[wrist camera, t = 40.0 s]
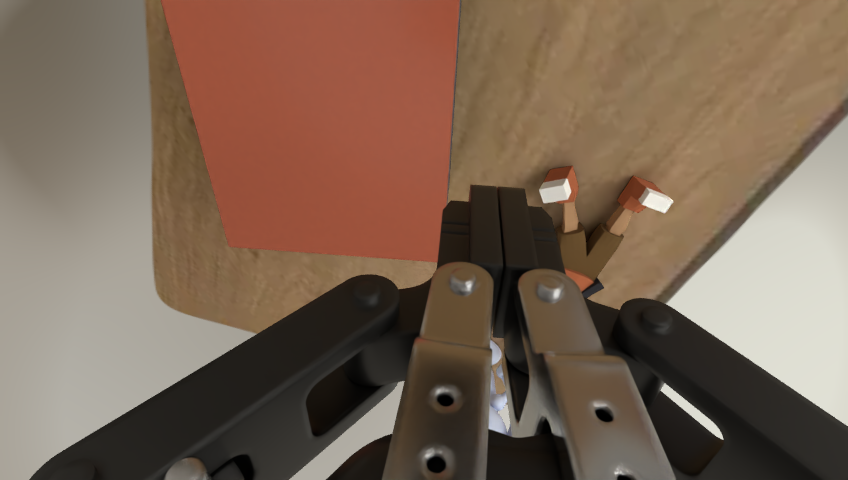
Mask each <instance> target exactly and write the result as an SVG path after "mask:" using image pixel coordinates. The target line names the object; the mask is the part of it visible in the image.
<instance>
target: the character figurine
mask: <svg viewBox="0 0 848 480" xmlns="http://www.w3.org/2000/svg"><path fill="white" fill-rule="evenodd" d="M578 188H579V186H578V183H577V179H576V176H575V172H574V169H573V166H568V167H562V168H556V169H551V170H550V171H549V173H548V175H547V177H546V178H545V180H544V182H543V184H542V185H541V187H540V189H539V191H540V194H541V197H542V200H543V203H550V202H557V203H558V204H561V203H563V207H562V214H563V224H562V225H561V226H559V227H557V242H558V245H559V249H560V252H561V256H562V260H563V264H564V268H565V272H566V275H567V276H569V277H570V278H572V279H573V280H574V281H575V282H576V283H577V285H578V286H579V288H580V290H581V292H582V295H583V297H585V298H588V297H589V296H591V295H592V294H594V293H596V292H598V291H599V290H601V289H603V288H604V287H603V285H602V284H601V282H600V281H599V280H598V278H597V276H598V275H599V273H600V272H601V270H602V269H603V268H604V266H605V265H606V263H607V262H608V261H609V259H610V258H611V256H612V255H613V254H614V252H615V251H616V250H617V248H618V246H619V245H620V243H621V241H622V239H623V238H624V236H623V234H622V233H623V232H624V231H625V230H626V228H627V225H628V223H629V220H630V217H631V216H632V214H633V212H637V213H639V212H640V211H642V210H643V209H645V208H646V207H649V208H652V209H655V210H657V211H660V212H662V213H666V211H667V210H668V209H669V207H670V206H671V204H672V203H673V202H674V201H673V200H672V199H671V198H669V197H668V196H667V195H666V194H665V193H663V192H662V191H661V190H660V189H659V188H657V187H656V186H655V185H654V184H653V183H651V182H649V181H646V180H643V179H641V178H638V177H636V176H633V177H632V178H631V180H630V181H629V183H628V184H627V186H626V187H625V189H624V190H623V192H622V193H621V195H620V196H619V198H618V202H619V203H620V204H621V205H620V206H619V207H618V209H617V210H616V211H615V213H614V214H613V215H612V216H611V218H610V219H609V220H608V221H607V223H606V225H604V224H601V223H600V225H599V226H598V227H597V228H596V230H595V231H594V232H593V234H592V235H591V237H590V239H589V240H588V242H587V244H586V239H585V232H584V228H583V226H582V224H581V223H580V222H578V218H577V214H576V210H575V205H574V201H575V199H576V196H577V193H578Z"/></svg>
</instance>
